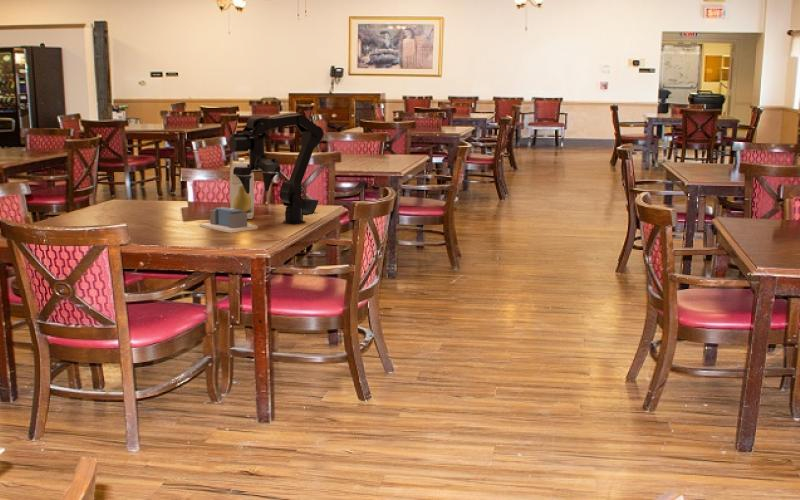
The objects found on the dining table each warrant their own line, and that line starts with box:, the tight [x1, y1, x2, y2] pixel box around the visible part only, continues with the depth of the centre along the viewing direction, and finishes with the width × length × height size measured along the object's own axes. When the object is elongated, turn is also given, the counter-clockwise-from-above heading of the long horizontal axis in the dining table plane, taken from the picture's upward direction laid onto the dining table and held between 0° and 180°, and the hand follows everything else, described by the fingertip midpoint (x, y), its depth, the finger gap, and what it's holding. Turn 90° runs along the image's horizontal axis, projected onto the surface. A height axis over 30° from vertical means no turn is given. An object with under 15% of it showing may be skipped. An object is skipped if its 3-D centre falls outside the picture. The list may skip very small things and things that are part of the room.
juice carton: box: [228, 157, 255, 220], centre depth 351 cm, size 9×8×24 cm
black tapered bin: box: [303, 198, 319, 216], centre depth 369 cm, size 12×7×10 cm
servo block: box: [214, 206, 243, 227], centre depth 330 cm, size 4×11×6 cm, turn 49°
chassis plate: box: [199, 208, 259, 234], centre depth 330 cm, size 13×18×6 cm
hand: (257, 192), depth 333 cm, fingers open, 9 cm apart
